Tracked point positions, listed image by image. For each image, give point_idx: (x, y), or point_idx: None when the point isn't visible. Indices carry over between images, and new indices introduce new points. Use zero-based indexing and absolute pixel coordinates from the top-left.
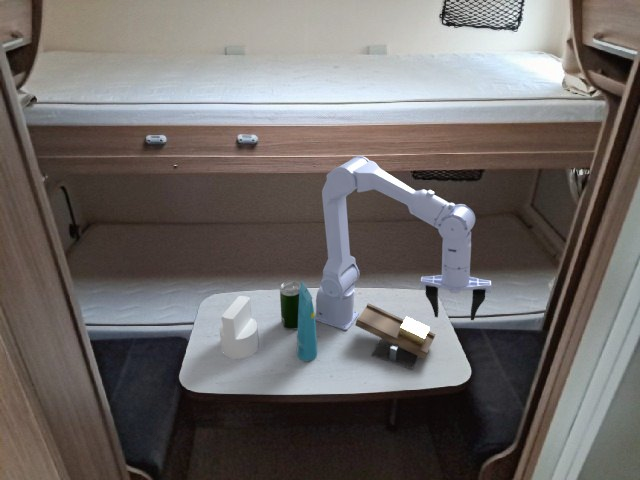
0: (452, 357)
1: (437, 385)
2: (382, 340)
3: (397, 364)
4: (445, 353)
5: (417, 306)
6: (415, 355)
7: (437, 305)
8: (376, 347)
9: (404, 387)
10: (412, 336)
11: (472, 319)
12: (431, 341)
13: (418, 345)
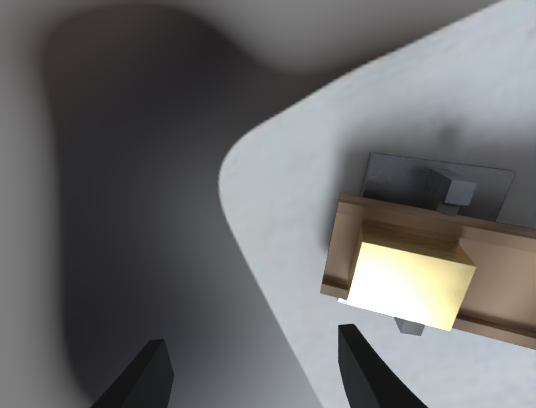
0: (261, 239)
1: (287, 113)
2: None
3: (419, 159)
4: (281, 248)
5: None
6: None
7: (363, 403)
8: (499, 207)
9: (388, 65)
10: (408, 244)
11: (152, 343)
12: (328, 262)
13: (372, 226)
